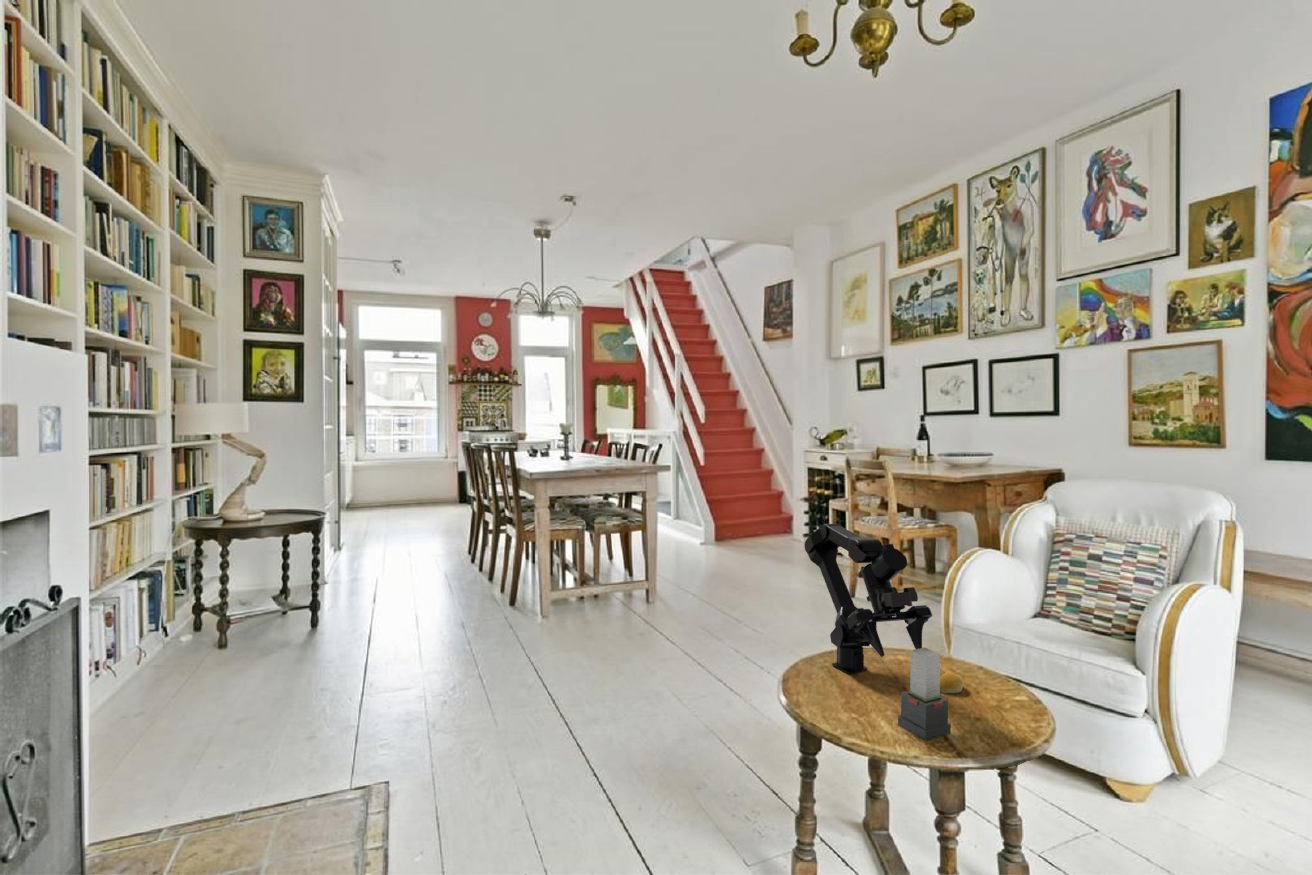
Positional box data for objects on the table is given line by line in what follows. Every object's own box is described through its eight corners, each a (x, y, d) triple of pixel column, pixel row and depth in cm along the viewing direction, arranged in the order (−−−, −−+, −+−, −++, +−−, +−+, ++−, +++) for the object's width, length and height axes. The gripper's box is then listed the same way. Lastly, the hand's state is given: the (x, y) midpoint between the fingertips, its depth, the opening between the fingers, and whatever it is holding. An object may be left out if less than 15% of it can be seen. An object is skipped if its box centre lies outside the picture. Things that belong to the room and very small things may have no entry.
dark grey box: (897, 724, 134) (898, 692, 134) (922, 717, 137) (923, 686, 137) (925, 740, 128) (926, 706, 127) (950, 733, 131) (951, 700, 131)
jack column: (909, 701, 133) (910, 650, 133) (923, 697, 135) (924, 647, 135) (925, 710, 130) (926, 657, 129) (939, 706, 131) (941, 653, 131)
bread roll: (953, 698, 148) (954, 681, 147) (916, 685, 154) (917, 669, 154) (969, 688, 153) (969, 671, 153) (932, 676, 160) (933, 660, 160)
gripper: (856, 576, 142) (878, 646, 133) (931, 572, 145) (958, 639, 136) (838, 595, 151) (857, 661, 142) (909, 591, 154) (932, 655, 145)
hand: (901, 654), depth 141 cm, fingers open, 9 cm apart
